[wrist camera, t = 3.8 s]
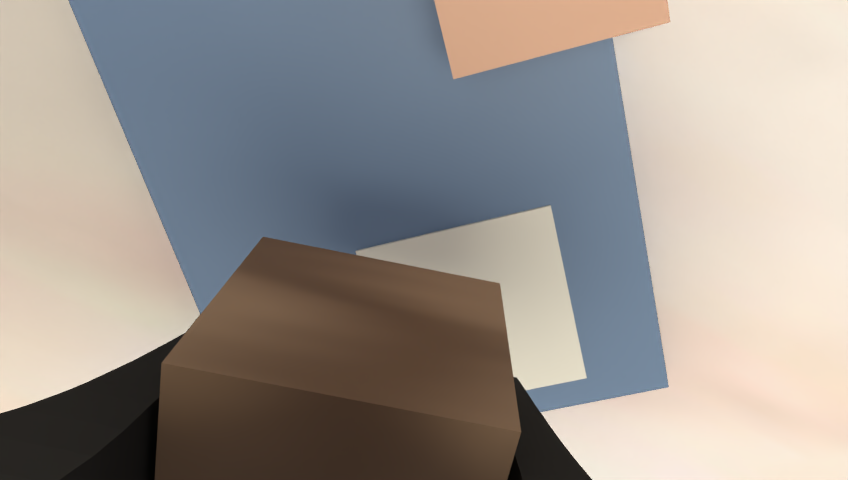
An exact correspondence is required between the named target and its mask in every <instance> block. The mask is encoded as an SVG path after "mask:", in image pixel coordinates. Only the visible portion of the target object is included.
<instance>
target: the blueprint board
mask: <svg viewBox="0 0 848 480" xmlns="http://www.w3.org/2000/svg"><path fill="white" fill-rule="evenodd" d="M69 3H70V5H71V8H72V10H73V12H74V15H75V17H76V19H77V22H78V24H79V27H80V29H81V31H82V34H83V36H84V38H85V41H86V43H87V46H88V48H89V50H90V53H91V55H92V57H93V60H94V62H95V65H96V67H97V69H98V72H99V74H100V76H101V79H102V81H103V84H104V86H105V88H106V91H107V93H108V95H109V98H110V100H111V103H112V105H113V107H114V110H115V112H116V114H117V117H118V119H119V122H120V124H121V126H122V129H123V131H124V133H125V136H126V138H127V141H128V143H129V145H130V148H131V150H132V152H133V155H134V157H135V160H136V162H137V164H138V167H139V169H140V171H141V174H142V176H143V179H144V181H145V183H146V186H147V188H148V190H149V193H150V195H151V198H152V200H153V202H154V205H155V207H156V209H157V212H158V214H159V217H160V219H161V221H162V224H163V226H164V228H165V231H166V233H167V236H168V238H169V240H170V243H171V245H172V248H173V250H174V252H175V255H176V257H177V259H178V262H179V264H180V267H181V269H182V271H183V274H184V276H185V278H186V281H187V283H188V286H189V288H190V290H191V293H192V295H193V297H194V300H195V302H196V305H197V307H198V309H199V312H200V314H201V313H202V312H203V311H204V309H205V308H206V307H207V306H208V304H209V303H210V302H211V301H212V299H213V298H214V297H215V296H216V294H217V293H218V292H219V291H220V289H221V288H222V287H223V286H224V284H225V283H226V282H227V281H228V279H229V278H230V277H231V276H232V274H233V273H234V272H235V271H236V269H237V268H238V267H239V266H240V265H241V263H242V262H243V261H244V260H245V258H246V257H247V256H248V255H249V253H250V252H251V251H252V250H253V248H254V247H255V246H256V245H257V243H258V242H259V241H260V240H261V238H262V237H268V238H273V239H278V240H283V241H288V242H293V243H298V244H303V245H308V246H313V247H318V248H324V249H329V250H334V251H339V252H344V253H349V254H354V255H359V256H364V257H369V258H374V259H379V260H384V261H389V262H395V263H400V264H405V265H410V266H415V267H420V268H425V269H430V270H435V271H440V272H445V273H450V274H455V275H461V276H466V277H471V278H476V279H481V280H486V281H491V282H496V283H500V287H501V294H502V301H503V308H504V315H505V322H506V329H507V336H508V343H509V350H510V357H511V364H512V371H513V377H516V378H518V380H519V381H520V383H521V384H522V386H523V387H524V389H525V390H526V392H527V393H528V395H529V396H530V398H531V399H532V401H533V402H534V404H535V405H536V407H537V408H538V410H539V411H540V412H543V411H548V410H553V409H559V408H564V407H569V406H574V405H579V404H584V403H589V402H595V401H600V400H605V399H610V398H615V397H620V396H625V395H630V394H636V393H641V392H646V391H651V390H656V389H661V388H666V387H669V386H668V380H667V374H666V368H665V362H664V355H663V349H662V343H661V337H660V331H659V324H658V318H657V312H656V306H655V300H654V293H653V287H652V281H651V275H650V269H649V262H648V256H647V250H646V244H645V238H644V231H643V225H642V219H641V213H640V207H639V200H638V194H637V188H636V182H635V176H634V169H633V163H632V157H631V151H630V145H629V138H628V132H627V126H626V120H625V114H624V107H623V101H622V95H621V89H620V83H619V76H618V70H617V64H616V58H615V52H614V45H613V39H612V38H608V39H604V40H601V41H597V42H593V43H589V44H585V45H582V46H578V47H574V48H570V49H567V50H563V51H559V52H555V53H551V54H548V55H544V56H540V57H536V58H533V59H529V60H525V61H521V62H517V63H514V64H510V65H506V66H502V67H498V68H495V69H491V70H487V71H483V72H480V73H476V74H472V75H468V76H464V77H461V78H457V79H453V76H452V71H451V67H450V63H449V59H448V55H447V51H446V47H445V43H444V39H443V35H442V31H441V26H440V22H439V18H438V14H437V10H436V6H435V2H434V0H69Z"/></svg>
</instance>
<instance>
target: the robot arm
mask: <svg viewBox="0 0 848 480" xmlns="http://www.w3.org/2000/svg"><path fill="white" fill-rule="evenodd" d="M184 334H185V333H184ZM184 334H182V335H181V336H179V337H177V338H175V339H173V340H172V341H170V342H168V343H166V344H164V345H162V346H160V347H158V348H157V349H155V350H153V351H151V352H149V353H147V354H145V355H143V356H141V357H140V358H138V359H136V360H134V361H132V362H130V363H127V364H125V365H123V366H121V367H119V368H117V369H115V370H112V371H110V372H108V373H106V374H104V375H102V376H100V377H97V378H95V379H93V380H91V381H89V382H87V383H84V384H82V385H80V386H77V387H75V388H72V389H70V390H67V391H65V392H62V393H60V394H57V395H54V396H52V397H49V398H46V399H43V400H41V401H38V402H35V403H32V404H29V405H26V406H23V407H20V408H17V409H14V410H11V411H7V412H4V413H0V480H155V464H156V447H157V430H158V414H159V397H160V380H161V363H162V362H163V360H164V359H165V358H166V357H167V355H168V354H169V353H170V352H171V350H172V349H173V348H174V347H175V345H176V344H177V343H178V342H179V340H180V339H181V338H182V337H183V335H184ZM513 378H514V385H515V392H516V399H517V406H518V413H519V420H520V427H521V434H520V438H519V441H518V445H517V448H516V451H515V455H514V458H513V462H512V465H511V468H510V472H509V475H508V479H507V480H592V479H591V478H590V477H589V476H588V474H587V473H586V472H585V471H584V470H583V468H582V467H581V466H580V465H579V464H578V462H577V461H576V460H575V459H574V458H573V456H572V455H571V454H570V452H569V451H568V450H567V449H566V447H565V446H564V445H563V443H562V442H561V441H560V439H559V438H558V437H557V435H556V434H555V433H554V431H553V430H552V428H551V427H550V426H549V424H548V423H547V421H546V420H545V418H544V417H543V416H542V414H541V413H540V411H539V410H538V408H537V407H536V405H535V404H534V402H533V401H532V399H531V398H530V396H529V395H528V393H527V392H526V390H525V389H524V387H523V386H522V384H521V383H520V381H519V380H518V378H516V377H513Z"/></svg>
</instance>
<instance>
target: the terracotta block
mask: <svg viewBox="0 0 848 480" xmlns="http://www.w3.org/2000/svg"><path fill="white" fill-rule="evenodd" d="M434 2H435V6H436V10H437V14H438V18H439V22H440V26H441V31H442V35H443V39H444V43H445V47H446V51H447V55H448V59H449V63H450V67H451V71H452V76H453V79H457V78H461V77H464V76H468V75H472V74H476V73H480V72H483V71H487V70H491V69H495V68H498V67H502V66H506V65H510V64H514V63H517V62H521V61H525V60H529V59H533V58H536V57H540V56H544V55H548V54H551V53H555V52H559V51H563V50H567V49H570V48H574V47H578V46H582V45H585V44H589V43H593V42H597V41H601V40H604V39H608V38H612V37H616V36H620V35H623V34H627V33H631V32H635V31H638V30H642V29H646V28H650V27H654V26H657V25H661V24H665V23H669V22H670V17H669V9H668V2H667V0H434Z"/></svg>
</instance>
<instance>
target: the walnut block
mask: <svg viewBox="0 0 848 480" xmlns="http://www.w3.org/2000/svg"><path fill="white" fill-rule="evenodd" d="M520 434H521V427H520V420H519V413H518V406H517V399H516V392H515V385H514V378H513V371H512V364H511V357H510V350H509V343H508V336H507V329H506V322H505V315H504V308H503V301H502V294H501V287H500V283H496V282H491V281H486V280H481V279H476V278H471V277H466V276H461V275H455V274H450V273H445V272H440V271H435V270H430V269H425V268H420V267H415V266H410V265H405V264H400V263H395V262H389V261H384V260H379V259H374V258H369V257H364V256H359V255H354V254H349V253H344V252H339V251H334V250H329V249H324V248H318V247H313V246H308V245H303V244H298V243H293V242H288V241H283V240H278V239H273V238H268V237H262V238H261V240H260V241H259V242H258V243H257V245H256V246H255V247H254V248H253V250H252V251H251V252H250V253H249V255H248V256H247V257H246V258H245V260H244V261H243V262H242V263H241V265H240V266H239V267H238V268H237V269H236V271H235V272H234V273H233V274H232V276H231V277H230V278H229V279H228V281H227V282H226V283H225V284H224V286H223V287H222V288H221V289H220V291H219V292H218V293H217V294H216V296H215V297H214V298H213V299H212V301H211V302H210V303H209V304H208V306H207V307H206V308H205V309H204V311H203V312H202V313H201V314H200V316H199V317H198V318H197V319H196V321H195V322H194V323H193V324H192V326H191V327H190V328H189V329H188V330H187V332H186V333H185V334H184V335H183V337H182V338H181V339H180V340H179V342H178V343H177V344H176V345H175V347H174V348H173V349H172V350H171V352H170V353H169V354H168V355H167V357H166V358H165V359H164V360H163V362H162V363H161V380H160V397H159V414H158V430H157V447H156V464H155V480H507V479H508V475H509V472H510V468H511V465H512V462H513V458H514V455H515V451H516V448H517V445H518V441H519V438H520Z"/></svg>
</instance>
